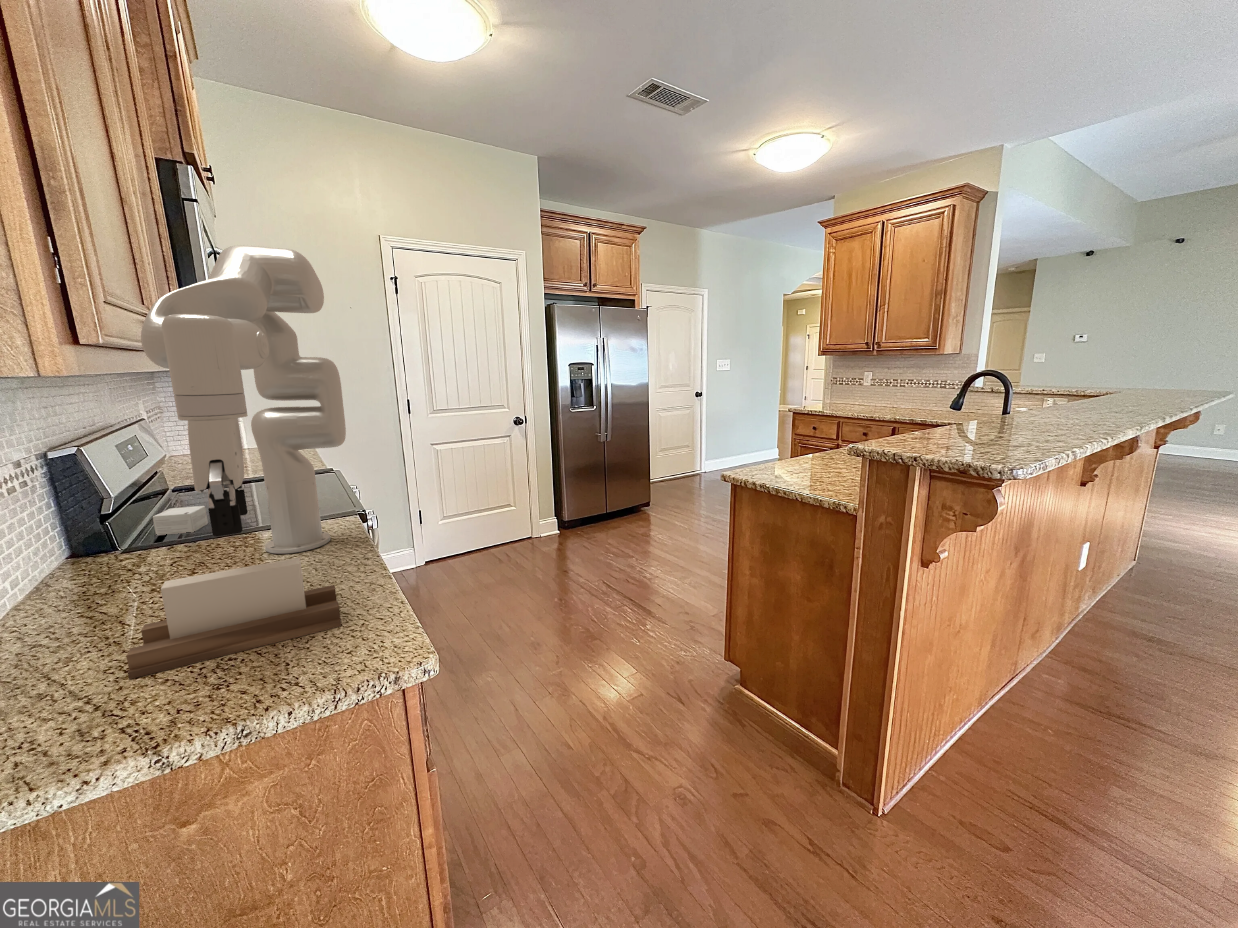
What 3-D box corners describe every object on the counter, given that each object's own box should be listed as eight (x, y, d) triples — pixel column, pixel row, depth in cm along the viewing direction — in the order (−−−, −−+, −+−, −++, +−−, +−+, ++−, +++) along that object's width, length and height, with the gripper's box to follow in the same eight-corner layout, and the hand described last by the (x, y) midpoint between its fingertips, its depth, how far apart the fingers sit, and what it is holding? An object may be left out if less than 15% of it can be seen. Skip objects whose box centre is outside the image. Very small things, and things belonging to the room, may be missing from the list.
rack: (149, 640, 72) (145, 622, 71) (336, 599, 85) (334, 583, 84) (129, 679, 63) (124, 658, 62) (341, 625, 76) (339, 608, 75)
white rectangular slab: (176, 639, 70) (165, 581, 68) (306, 609, 79) (299, 557, 77) (172, 648, 68) (160, 588, 66) (307, 616, 76) (300, 563, 75)
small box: (172, 526, 126) (169, 507, 125) (209, 523, 128) (206, 505, 127) (154, 536, 119) (151, 516, 118) (193, 533, 121) (190, 513, 120)
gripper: (187, 404, 72) (206, 513, 76) (162, 414, 58) (187, 548, 62) (250, 402, 76) (265, 506, 80) (241, 411, 62) (260, 537, 66)
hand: (231, 524), depth 71 cm, fingers open, 9 cm apart
